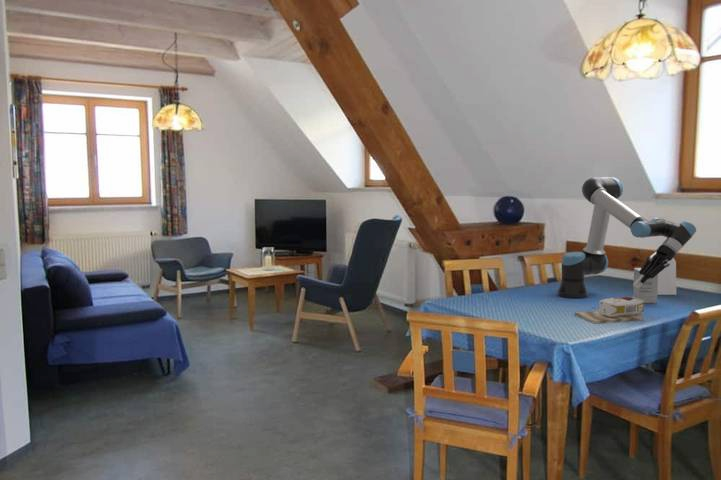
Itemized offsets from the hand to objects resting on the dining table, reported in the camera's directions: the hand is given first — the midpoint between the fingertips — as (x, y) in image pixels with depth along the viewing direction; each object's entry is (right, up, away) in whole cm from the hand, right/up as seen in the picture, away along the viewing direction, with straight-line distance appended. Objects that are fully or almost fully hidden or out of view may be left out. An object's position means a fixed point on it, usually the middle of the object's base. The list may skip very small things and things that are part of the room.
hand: (635, 287), depth 256 cm
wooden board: (-13, -14, -1) cm, 19 cm away
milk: (+40, -8, +51) cm, 65 cm away
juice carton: (+2, -8, +1) cm, 9 cm away
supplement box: (+20, -10, +31) cm, 38 cm away
